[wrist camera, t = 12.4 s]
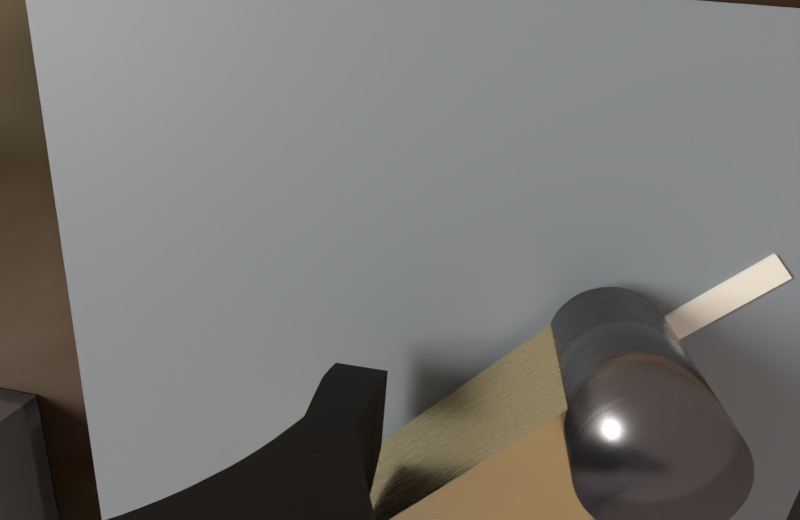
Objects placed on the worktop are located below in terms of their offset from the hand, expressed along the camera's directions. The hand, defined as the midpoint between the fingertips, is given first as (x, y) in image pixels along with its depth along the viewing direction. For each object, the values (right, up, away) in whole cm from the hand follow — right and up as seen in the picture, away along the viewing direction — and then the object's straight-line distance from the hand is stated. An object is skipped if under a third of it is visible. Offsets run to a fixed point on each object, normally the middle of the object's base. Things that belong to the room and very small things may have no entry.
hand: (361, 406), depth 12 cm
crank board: (+1, -1, +3) cm, 3 cm away
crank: (+1, -2, +2) cm, 3 cm away
